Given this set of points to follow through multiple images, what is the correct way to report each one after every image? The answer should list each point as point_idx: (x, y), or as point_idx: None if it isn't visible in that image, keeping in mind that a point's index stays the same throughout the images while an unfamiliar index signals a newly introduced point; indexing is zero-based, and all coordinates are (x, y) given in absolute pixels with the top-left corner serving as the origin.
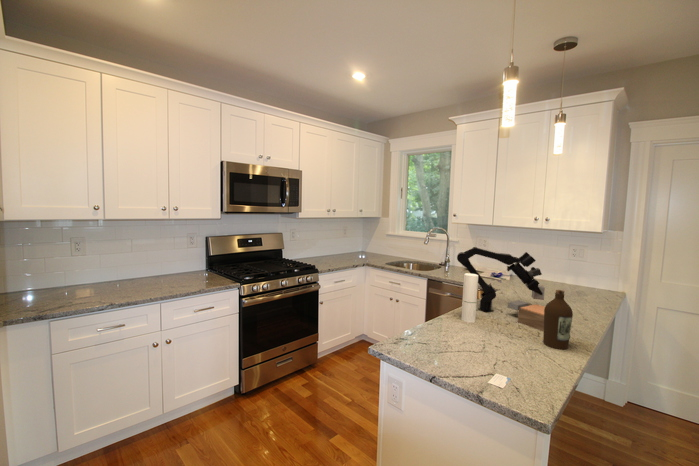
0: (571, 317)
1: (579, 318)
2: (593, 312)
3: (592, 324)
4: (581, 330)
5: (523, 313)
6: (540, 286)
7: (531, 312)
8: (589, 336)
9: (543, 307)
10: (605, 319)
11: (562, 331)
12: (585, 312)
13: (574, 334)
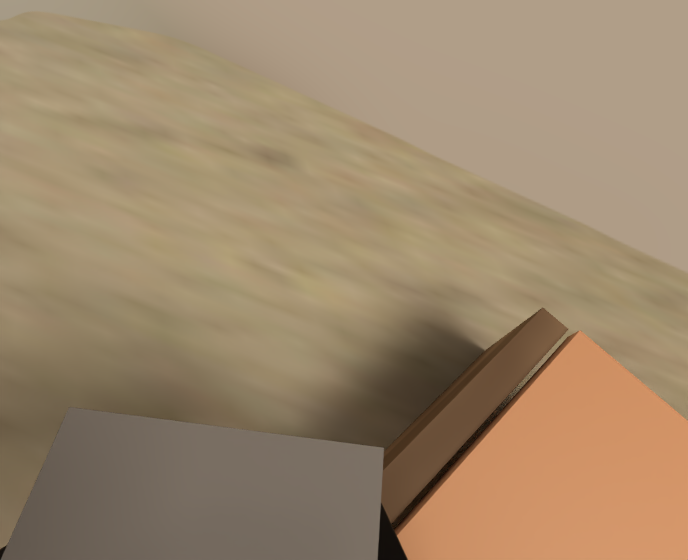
0: None
1: (258, 178)
2: (122, 69)
3: (362, 162)
4: (519, 268)
5: None
6: (209, 553)
7: None
8: (619, 271)
9: (503, 517)
10: (246, 74)
11: None
12: (124, 102)
13: (641, 348)
